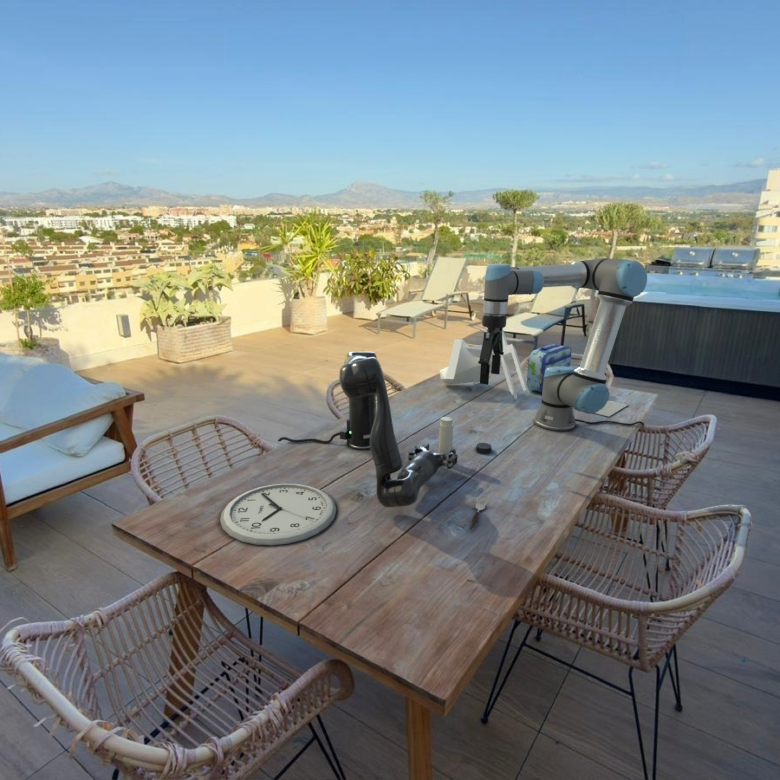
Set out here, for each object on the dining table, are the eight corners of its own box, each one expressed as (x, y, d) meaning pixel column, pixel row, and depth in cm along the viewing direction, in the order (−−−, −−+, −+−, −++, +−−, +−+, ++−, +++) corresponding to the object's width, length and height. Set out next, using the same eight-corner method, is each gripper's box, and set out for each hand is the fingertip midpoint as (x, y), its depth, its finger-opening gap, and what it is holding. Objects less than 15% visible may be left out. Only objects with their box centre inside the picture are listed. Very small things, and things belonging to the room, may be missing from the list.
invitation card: (608, 416, 214) (573, 407, 224) (608, 416, 214) (573, 408, 224) (628, 404, 229) (594, 396, 238) (628, 405, 229) (594, 397, 238)
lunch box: (543, 396, 238) (548, 352, 231) (522, 391, 245) (526, 347, 239) (570, 385, 255) (575, 343, 249) (550, 381, 262) (555, 340, 256)
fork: (465, 530, 132) (466, 523, 131) (477, 500, 146) (478, 494, 146) (475, 532, 131) (476, 525, 130) (487, 502, 145) (487, 496, 145)
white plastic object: (461, 429, 252) (437, 405, 227) (444, 352, 274) (420, 323, 250) (535, 404, 240) (518, 377, 215) (510, 326, 262) (492, 293, 237)
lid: (482, 455, 176) (482, 449, 175) (472, 449, 180) (473, 444, 180) (494, 452, 178) (495, 447, 178) (484, 446, 183) (485, 441, 182)
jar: (447, 458, 173) (449, 415, 168) (453, 464, 169) (455, 420, 164) (435, 460, 171) (437, 417, 167) (441, 466, 168) (443, 421, 163)
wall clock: (335, 537, 125) (206, 541, 122) (335, 543, 125) (207, 547, 123) (337, 479, 154) (232, 481, 151) (337, 484, 154) (233, 486, 151)
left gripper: (445, 461, 147) (463, 441, 161) (399, 451, 152) (420, 433, 166) (443, 485, 149) (461, 464, 163) (398, 475, 155) (419, 455, 169)
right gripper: (493, 308, 178) (488, 368, 184) (471, 318, 156) (467, 386, 163) (515, 310, 175) (510, 371, 181) (496, 321, 153) (490, 390, 159)
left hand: (440, 448), depth 165 cm, fingers open, 8 cm apart
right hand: (489, 378), depth 172 cm, fingers open, 13 cm apart
